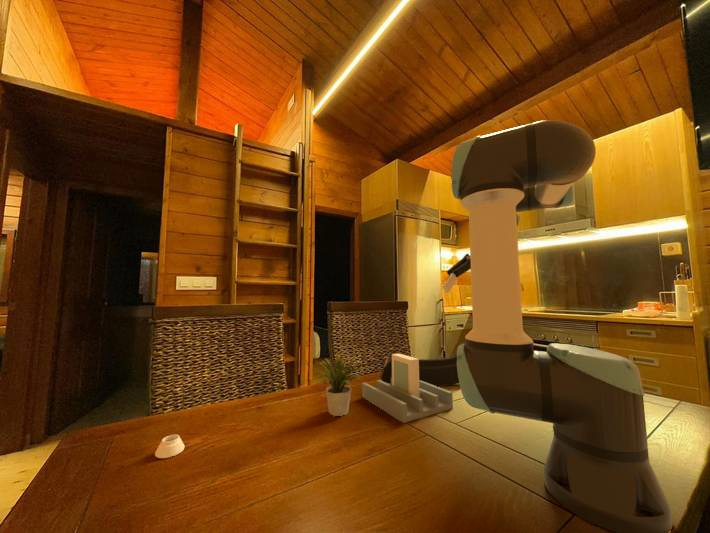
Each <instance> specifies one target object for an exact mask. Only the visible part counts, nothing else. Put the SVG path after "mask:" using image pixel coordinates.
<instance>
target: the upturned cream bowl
mask: <svg viewBox="0 0 710 533" xmlns="http://www.w3.org/2000/svg"><path fill="white" fill-rule="evenodd" d="M185 446H186V445H185V444H184V442H183V439H182V438H181V437H180V435H179V434H171V435H168V436H165V437H163V438H162V439H161V441H160V443H159V445H158V447H157V449H156V450H155V452H154V456H155V458H158V459H169V458H173V457H175V456H177V455H178V454H180V453H182V452H183V451H184V449H185ZM172 456H173V457H172Z"/></svg>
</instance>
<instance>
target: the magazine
mask: <svg viewBox="0 0 710 533" xmlns="http://www.w3.org/2000/svg"><path fill="white" fill-rule="evenodd" d="M392 354H393V353H390V356H387V358H386V360H385V363H384V364H383V366H382V368H381V372H380V376H379V377H380V380H381V381H383V382H385V383H388V384H390V385H391V378H392ZM418 359H419V380H421V381H424V382H426V383H429V384H432V385H434V386H438V387H447V386H453V385H458V384H459V378H458V372H457V354H455V355H453V356H449V357H445V358H442V357H441V358H430V359H428V358H427V359H425V358H423V359H422V358H421V359H420V358H418ZM459 385H460V384H459Z"/></svg>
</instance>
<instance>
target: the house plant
mask: <svg viewBox="0 0 710 533" xmlns="http://www.w3.org/2000/svg"><path fill="white" fill-rule="evenodd" d="M350 355H351V353H349V354H348V355H347V356H346V357H345V359H344V360H343V361H342V358H341V354H340V353H339V351H338V350H337V352H336V358H335V359H336V360H335V365H334V363H333V361H332V360H331V359H330V358H326V357H324V360H325V361H326V362H325V361H324V360H322V362H318V364H320V365H321V366H323V368H324V369H325V370H326V372H325V371H320V372H319V374H320V375H323V376H325V377H326V378H327V379H326V378H323V379H322V380H321V386H323V385H326V384H330V385H331V386H328V387H326V388H325V394H326V401H327V402H326V403H327V408H328V414H329V413H330V414H331V415H334V416H333V417H335V416H341V417H344V416H343V415H345V416H346V414H347V413H349V409H350V408H349V406H350V401H351V394H352V388H351V384H352V382H351V381H353V380H360V381H362V378H361V375H360V374H354V373H353V372H356V371H359V370H364V369H365V370H366V367H356V366H358V364H359V363H361V361H358V362H355V361H356V360H357V359H358V358H359V356H357V357H354V358H353V359H351V361H350V362H348V364H347V361H348V359H349V358H350ZM345 365H346V366H345ZM354 367H355V368H354ZM351 373H353V374H351ZM348 385H349V386H348ZM330 414H329V415H330ZM331 415H330V416H331ZM347 415H348V414H347Z"/></svg>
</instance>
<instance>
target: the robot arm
mask: <svg viewBox="0 0 710 533" xmlns="http://www.w3.org/2000/svg"><path fill="white" fill-rule="evenodd" d="M596 152H597V151H596V145H595V141H594V140H593V138H592V136H591V135H590V134H589V133H588V132H587V131H586V130H585V129H583V128H582V127H581V126H578V125H577V124H574V123H572V122H568V121H564V120H559V119H558V120H555V119H547V120H544V119H543V120H539V121H534V122H532V123H528V124H525V125H520V126H517V127H516V126H515V127H513V128H508V129H505V130H501V131H498V132H497V131H496V132H493V133H490V134H485V135H477V136H476V137H473V138H470V139H468V140H464V141H461V142H459V144H458V145H457V146H456V148H455V150H454V152H453V155H452V161H451V167H450V168H451V170H450V171H451V172H450V181H451V191H452V195H453V197H454V198H455V199H457V200H459V201H460V205H461V207H462V208H463V209H465V210H466V211H467V212H468V220H469V221H468V223H469V224H468V225H469V226H468V227H469V228H468V229H469V253H466V254H464V256H463V257H462V259H460V260H459V261H457V262H456V263H455V264H454V265H453V266H451V267H450V268H449V269H448V270H447V271H446V274H447V275H448V277H447V278H446V279H445V282H444V284H443V285H442V286H441V287H442V289H443V290H444V291H445V293H446V294H449V293H450V291H451V290H452V289H453V287H454V286H455V283H456V282H457V281H458V278H459V277H460V276H462V275H464V274H465V273H467V272H468V271H470V279H471V280H470V281H471V283H470V284H471V285H470V286H471V308H472V310H471V311H472V329H471V330H469V332H468V333H467V334H466V335H465V336H464V337H465V339H464V341H465V343H461V344H460V345H458V346H457V349H456V355H457V372H458V378H459V387H460V391H461V395H462V396H463V399H464V400H465V402H466V404H468V405H469V406H470V407H472V408H474V409H477V410H482V411H485V412H486V411H487V412H489V413H490V414H495V413H496V414H501V415H505V416H506V415H507V416H511V417H516V418H523V419H527V420H533V421H538V422H545V423H551V424H552V428H553V437H552V441H551V443H550V448H549V449H548V453H547V455H546V460H545V462H544V464H543V465H544V466H543V476H544V477H543V478H544V481H543V482H544V486H545V487H546V490H547V491H548V493H549V494H550V495H551V496H552V497H553V499H554V500H556V501H557V502H558V503H559V504H560V505H562V506H563V507H564V508H565V509H567V510H568V511H570V512H571V513H573V514H574V515H576V516H578V517H579V518H581V519H582V520H585V521H587V522H589V523H591V524H593V525H595V526H598V527H600V528H601V529H604V530H608V531H611V532H613V533H668V532H669V531H670V530H671V528H672V526H673V527H674V525H673V516H672V515H673V514H672V508H671V506H670V504H669V502H668V498H667V496H666V495H665V492H664V490H663V488H662V485H661V483H660V482H659V479H658V477H657V475H656V473H655V471H654V469H653V467H652V465H651V462H650V457H649V456H650V455H649V448H648V446H649V445H648V435H647V424H646V423H647V422H646V413H645V403H644V396H645V391H644V387H643V382H642V377H641V373H640V372H641V371H640V370H639V367H638V366H637V365H636V364H635V363H634V362H633V361H631V360H630V359H629V358H627V357H624V356H621V355H618V354H615V353H612V352H608V351H604V350H600V349H595V348H591V347H586V346H581V345H580V346H579V345H574V344H566V343H556V342H555V343H552V342H551V343H549V344H548V346H547V347H546V351H542V350H534V349H535V348H534V340H533V339H532V338H531V337H530V336H529V335H528V334H527V333H526V332H525V331H524V327H523V312H522V310H523V309H522V293H521V292H522V290H521V278H520V277H521V276H520V275H521V273H520V259H519V258H520V256H519V242H518V241H519V240H518V239H519V238H518V226H519V224H520V221H521V220H520V216H519V214H518V213H522V212H530V211H537V210H546V209H553V208H554V209H558V208H561V207H567V206H570V205H571V204H572V202H573V200H574V199H573V198H574V193H573V192H574V189H573V188H574V187H573V184H574V183H575V182H577V181H579V180H581V179H582V178H583V177H584V176H585V175H586V174H587V173H588V172H589V170H590V168H592V165H593V164H594V161H595V157H596Z"/></svg>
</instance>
